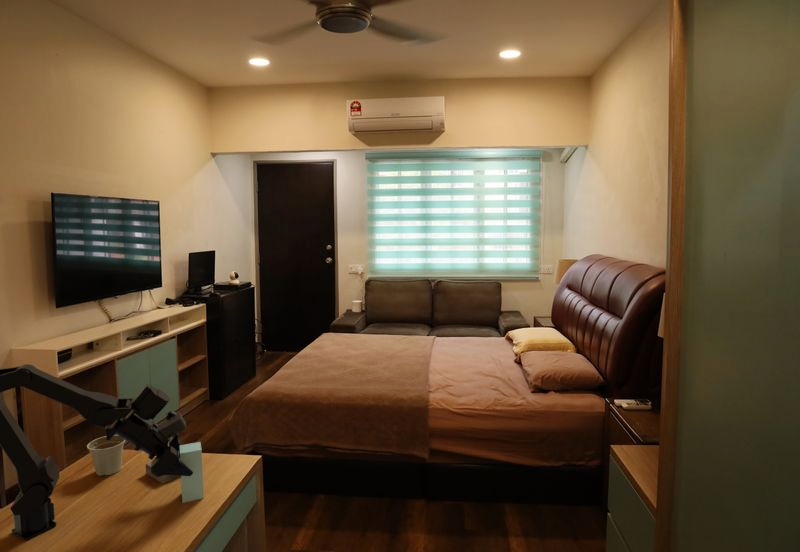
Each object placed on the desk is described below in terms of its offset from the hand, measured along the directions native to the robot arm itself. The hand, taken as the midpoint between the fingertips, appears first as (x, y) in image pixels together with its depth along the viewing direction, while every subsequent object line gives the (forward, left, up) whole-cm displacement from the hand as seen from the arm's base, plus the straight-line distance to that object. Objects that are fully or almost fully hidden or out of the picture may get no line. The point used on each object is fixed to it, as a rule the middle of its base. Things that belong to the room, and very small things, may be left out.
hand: (191, 466), depth 125 cm
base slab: (+5, +16, -8) cm, 19 cm away
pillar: (0, 0, -8) cm, 8 cm away
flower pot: (-3, +32, -8) cm, 33 cm away
